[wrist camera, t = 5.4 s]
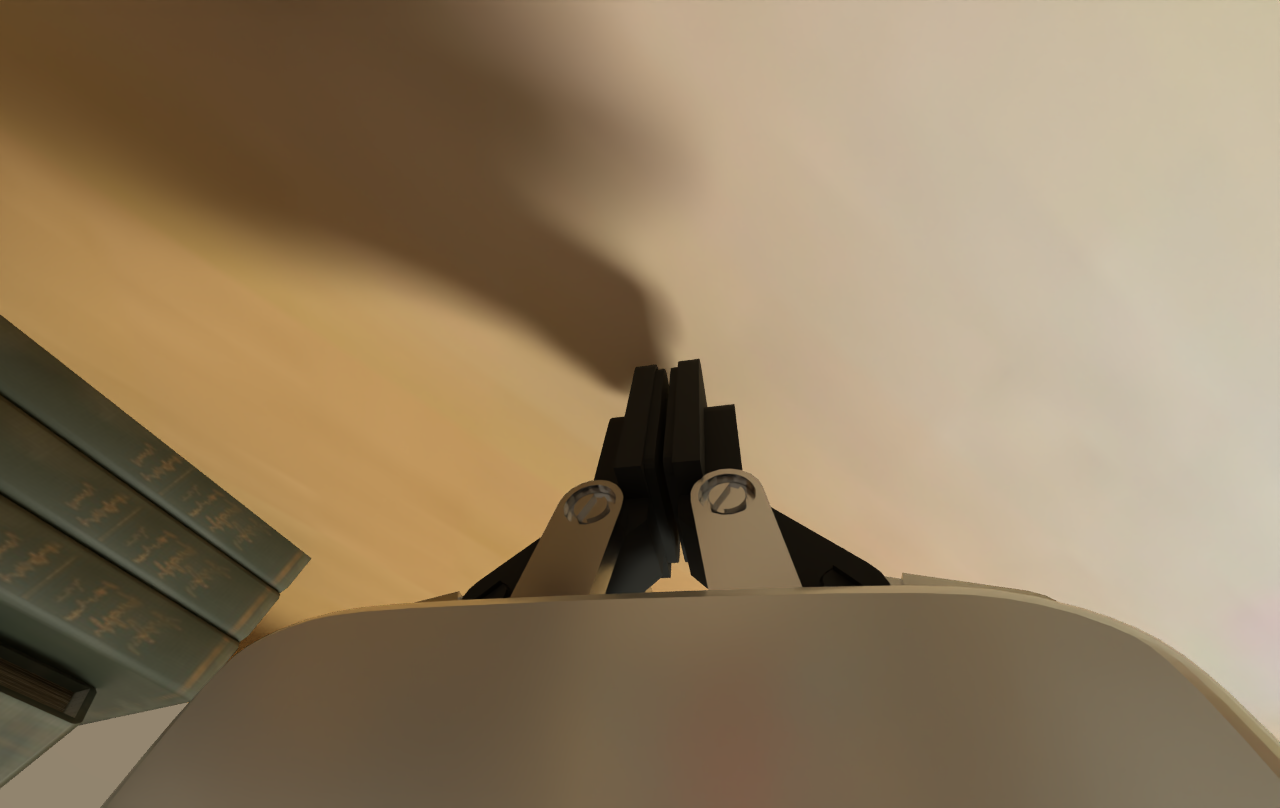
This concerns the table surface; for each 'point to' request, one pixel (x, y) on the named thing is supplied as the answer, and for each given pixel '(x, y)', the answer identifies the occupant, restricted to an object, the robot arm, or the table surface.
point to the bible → (111, 561)
